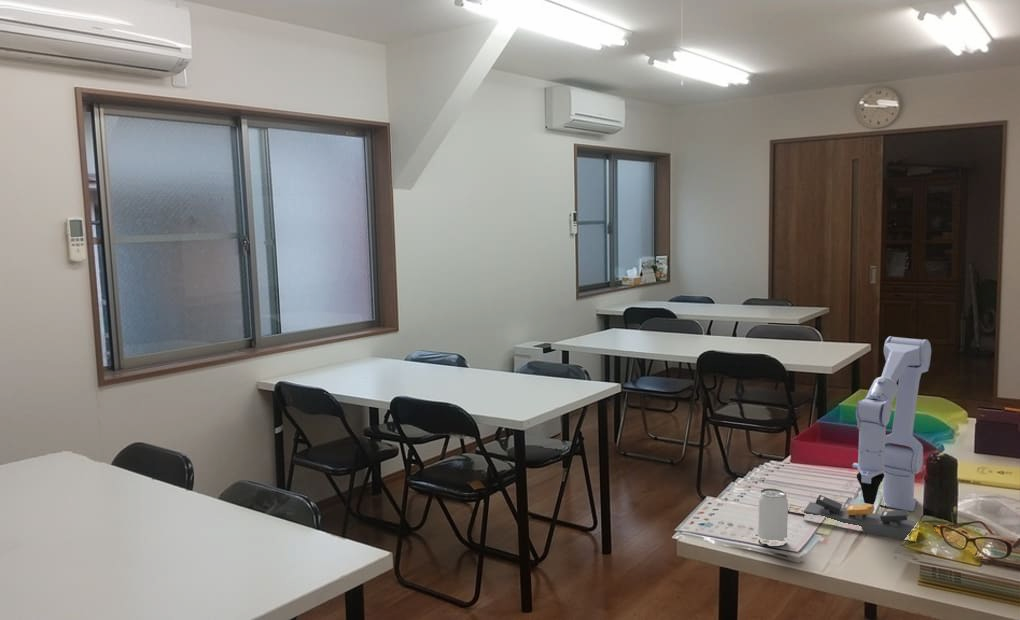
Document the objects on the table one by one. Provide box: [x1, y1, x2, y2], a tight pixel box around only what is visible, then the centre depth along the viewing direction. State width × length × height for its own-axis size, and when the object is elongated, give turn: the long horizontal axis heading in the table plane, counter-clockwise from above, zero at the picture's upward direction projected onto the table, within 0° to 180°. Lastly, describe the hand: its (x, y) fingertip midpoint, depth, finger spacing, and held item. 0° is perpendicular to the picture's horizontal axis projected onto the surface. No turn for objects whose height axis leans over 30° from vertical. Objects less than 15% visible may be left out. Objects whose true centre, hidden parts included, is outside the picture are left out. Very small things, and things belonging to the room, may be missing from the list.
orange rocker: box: [846, 503, 875, 516], centre depth 183 cm, size 4×6×2 cm, turn 56°
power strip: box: [803, 501, 918, 541], centre depth 185 cm, size 7×30×4 cm, turn 56°
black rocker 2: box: [880, 510, 909, 522], centre depth 179 cm, size 4×6×2 cm, turn 56°
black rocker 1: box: [814, 494, 843, 513], centre depth 187 cm, size 4×6×2 cm, turn 56°
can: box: [757, 488, 789, 540], centre depth 175 cm, size 6×6×12 cm
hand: (869, 503), depth 182 cm, fingers closed
